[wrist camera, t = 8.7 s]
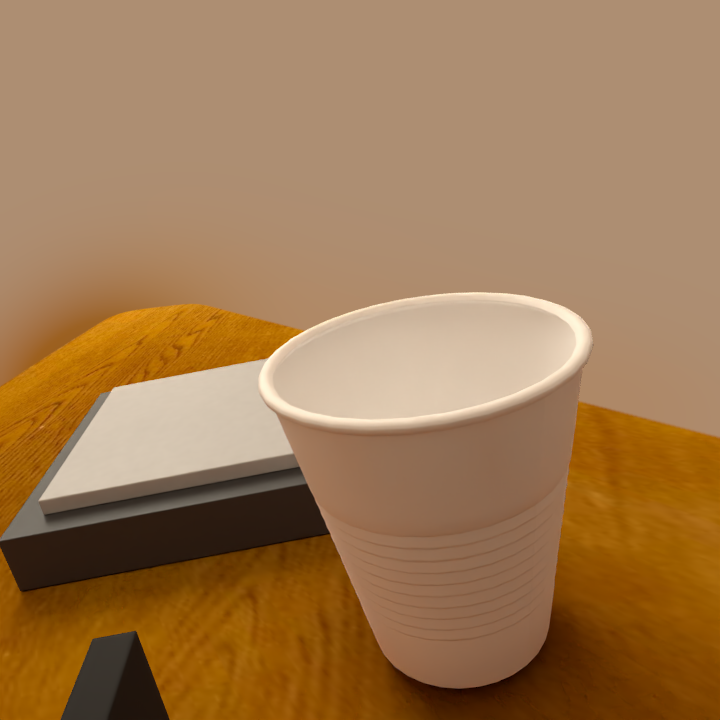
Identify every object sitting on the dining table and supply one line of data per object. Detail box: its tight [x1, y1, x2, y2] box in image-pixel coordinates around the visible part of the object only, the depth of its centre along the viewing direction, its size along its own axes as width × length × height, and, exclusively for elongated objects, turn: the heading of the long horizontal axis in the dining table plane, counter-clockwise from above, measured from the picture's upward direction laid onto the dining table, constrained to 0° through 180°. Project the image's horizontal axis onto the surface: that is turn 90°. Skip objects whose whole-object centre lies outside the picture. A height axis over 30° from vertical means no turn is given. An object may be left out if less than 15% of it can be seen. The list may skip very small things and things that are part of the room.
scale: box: [0, 359, 330, 591], centre depth 38 cm, size 16×16×4 cm
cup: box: [258, 292, 593, 689], centre depth 22 cm, size 10×10×11 cm
